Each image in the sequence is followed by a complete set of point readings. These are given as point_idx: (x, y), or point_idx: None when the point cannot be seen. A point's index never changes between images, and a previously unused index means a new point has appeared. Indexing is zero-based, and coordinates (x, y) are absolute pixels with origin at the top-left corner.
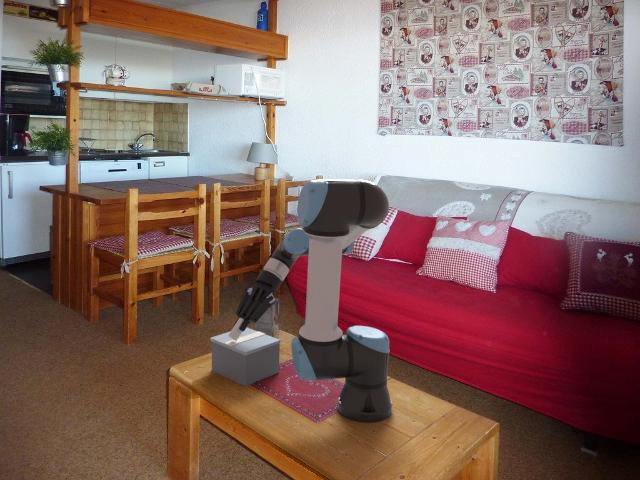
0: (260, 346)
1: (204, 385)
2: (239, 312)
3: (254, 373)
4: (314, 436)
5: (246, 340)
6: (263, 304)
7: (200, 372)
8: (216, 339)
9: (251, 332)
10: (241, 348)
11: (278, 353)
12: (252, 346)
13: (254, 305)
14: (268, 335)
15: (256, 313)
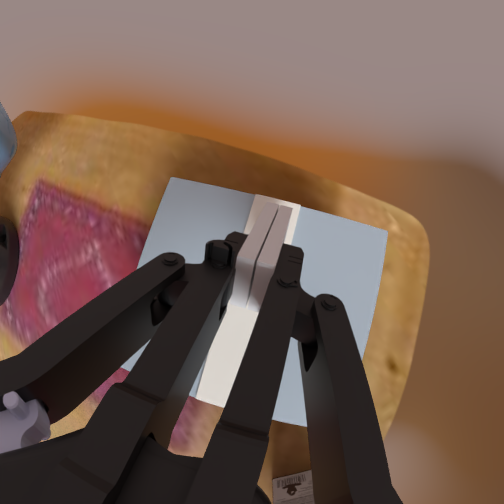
0: (145, 257)
1: (300, 180)
2: (313, 312)
3: None
4: (40, 147)
5: None
6: (53, 337)
7: None
8: (356, 227)
9: None
10: (204, 199)
11: None
12: (173, 240)
13: (156, 347)
14: (285, 500)
15: (122, 280)
